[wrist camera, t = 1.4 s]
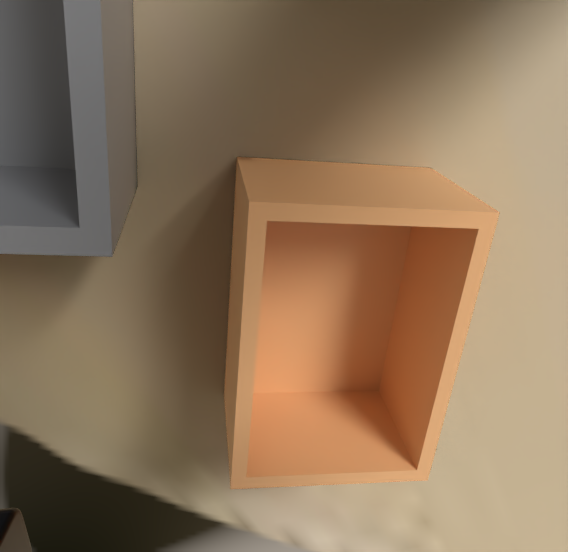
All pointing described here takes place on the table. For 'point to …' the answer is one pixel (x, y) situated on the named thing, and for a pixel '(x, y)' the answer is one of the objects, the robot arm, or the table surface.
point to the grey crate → (66, 125)
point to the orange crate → (346, 318)
